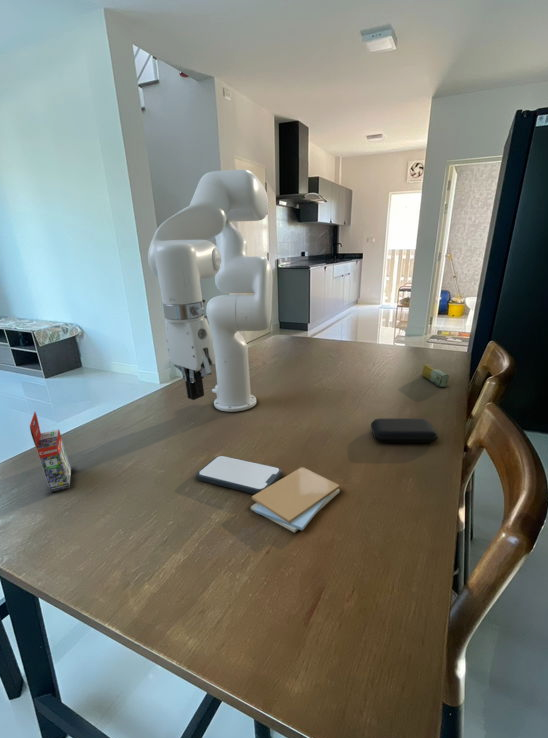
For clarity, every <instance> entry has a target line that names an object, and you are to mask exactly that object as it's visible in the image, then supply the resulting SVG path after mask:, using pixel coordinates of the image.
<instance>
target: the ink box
mask: <svg viewBox="0 0 548 738" xmlns="http://www.w3.org/2000/svg"><path fill="white" fill-rule="evenodd" d="M29 431H30V435H31V438H32V441H33V444H34V446H35V449H36V453H37V456H38V458H39V462H40V465H41V468H42V471H43V474H44V477H45V479H46V483H47V487H48V490H49V492H50V493H53V492H57V491H61V490H65V489H69V488H70V487H71V475H72V467H71V465H70V461H69V458H68V454H67V451H66V447H65V445H64V441H63V438H62V435H61V432H60V429H55V430H48V431H43V432H41V429H40V424H39V420H38V416H37V412H36V411H34V412H33V415H32V418H31V421H30V424H29Z"/></svg>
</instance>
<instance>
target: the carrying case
mask: <svg viewBox="0 0 548 738" xmlns="http://www.w3.org/2000/svg"><path fill="white" fill-rule="evenodd" d="M370 428H371V431H372V434H373V437H374V439H375V440H376V441H377V442H378V443H383V444H432V443H435V442H436V441H437V440H438V439H439V433H438V432H437V430H436V429H435V428H434V426H433V425H432V423H431V422H430V421H429V420H428V419H426V418H400V417H399V418H397V417H396V418H394V417H393V418H391V417H390V418H388V417H387V418H375V419H374V420H373V421H372V422H371V423H370Z"/></svg>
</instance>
